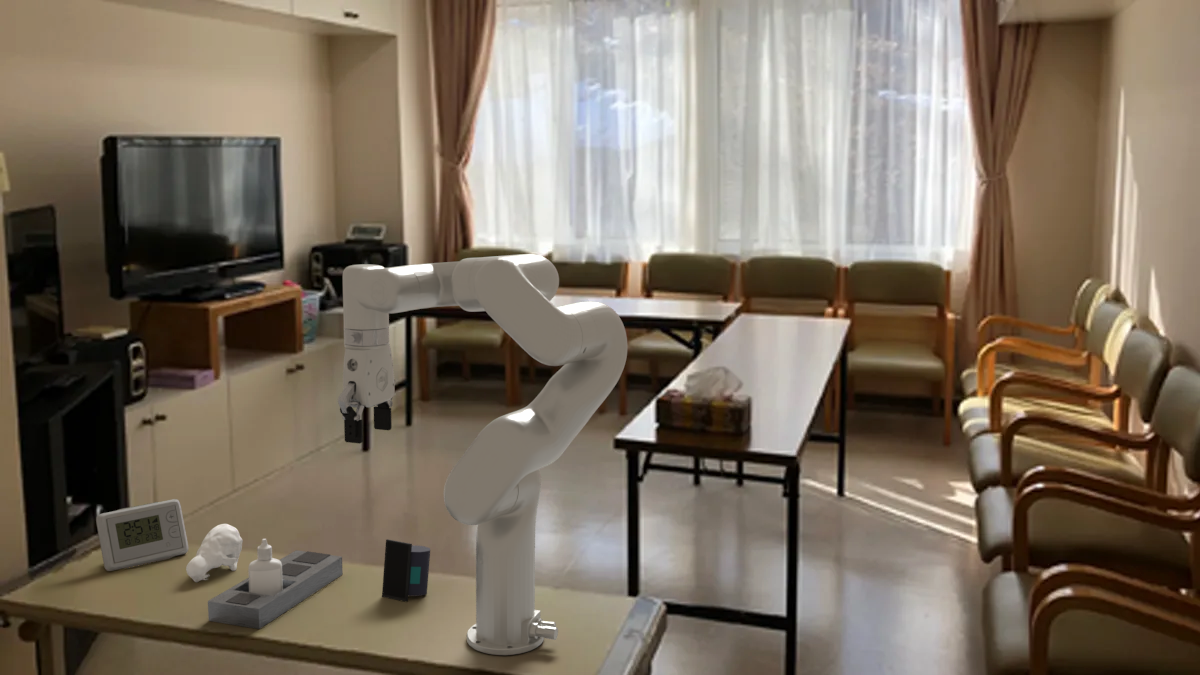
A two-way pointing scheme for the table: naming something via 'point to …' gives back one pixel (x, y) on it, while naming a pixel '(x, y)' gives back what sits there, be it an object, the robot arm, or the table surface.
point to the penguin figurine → (216, 552)
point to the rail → (299, 582)
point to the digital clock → (142, 534)
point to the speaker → (405, 570)
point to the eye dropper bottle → (265, 572)
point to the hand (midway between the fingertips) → (368, 435)
